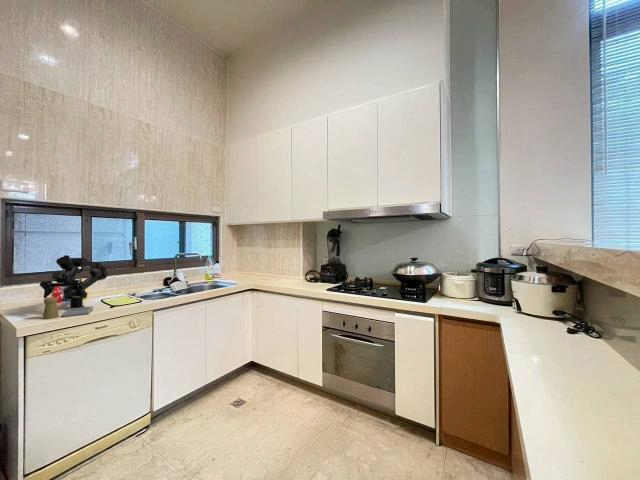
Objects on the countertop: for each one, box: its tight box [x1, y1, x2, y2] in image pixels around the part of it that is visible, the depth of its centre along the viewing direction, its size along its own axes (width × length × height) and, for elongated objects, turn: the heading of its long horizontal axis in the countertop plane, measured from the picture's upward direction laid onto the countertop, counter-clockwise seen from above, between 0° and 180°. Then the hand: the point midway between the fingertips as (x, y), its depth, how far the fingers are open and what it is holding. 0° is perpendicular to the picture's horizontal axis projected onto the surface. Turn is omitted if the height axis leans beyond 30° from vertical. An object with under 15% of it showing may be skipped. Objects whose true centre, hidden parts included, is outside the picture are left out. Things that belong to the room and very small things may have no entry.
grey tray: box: [62, 306, 94, 318], centre depth 147 cm, size 10×10×2 cm
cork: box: [42, 296, 59, 321], centre depth 139 cm, size 6×6×11 cm
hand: (54, 297), depth 142 cm, fingers open, 9 cm apart
